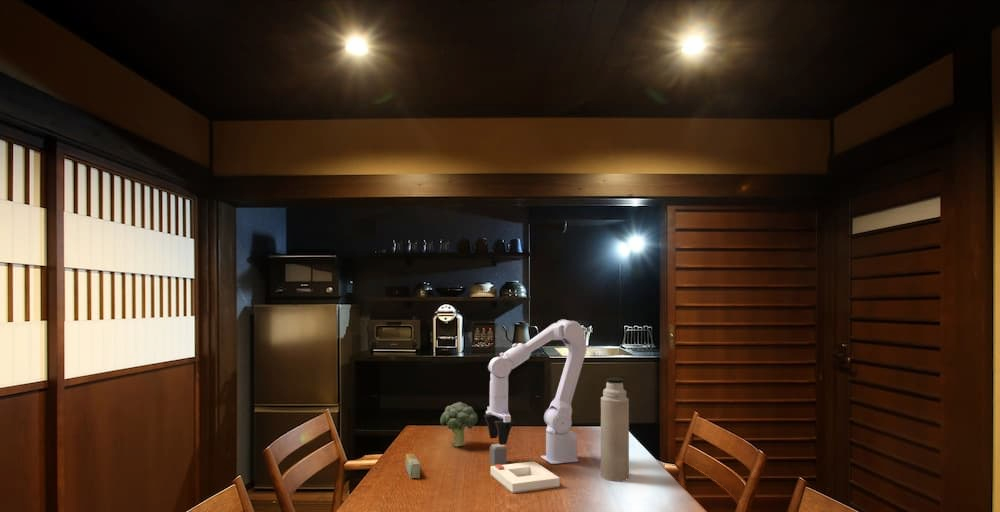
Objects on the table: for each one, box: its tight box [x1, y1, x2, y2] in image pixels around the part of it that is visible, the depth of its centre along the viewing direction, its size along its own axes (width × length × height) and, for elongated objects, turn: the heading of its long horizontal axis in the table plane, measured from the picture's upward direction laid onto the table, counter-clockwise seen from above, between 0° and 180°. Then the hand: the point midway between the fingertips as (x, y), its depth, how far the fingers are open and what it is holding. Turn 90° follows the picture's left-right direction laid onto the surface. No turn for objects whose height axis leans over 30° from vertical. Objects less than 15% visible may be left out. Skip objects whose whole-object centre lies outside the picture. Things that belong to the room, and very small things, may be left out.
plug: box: [489, 443, 508, 466], centre depth 174 cm, size 4×4×6 cm
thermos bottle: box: [600, 377, 630, 482], centre depth 164 cm, size 8×8×28 cm
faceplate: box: [489, 460, 561, 494], centre depth 159 cm, size 14×16×3 cm
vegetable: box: [439, 401, 479, 447], centre depth 194 cm, size 12×13×15 cm
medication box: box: [404, 453, 421, 479], centre depth 165 cm, size 12×3×4 cm, turn 17°
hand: (498, 441), depth 174 cm, fingers open, 7 cm apart
